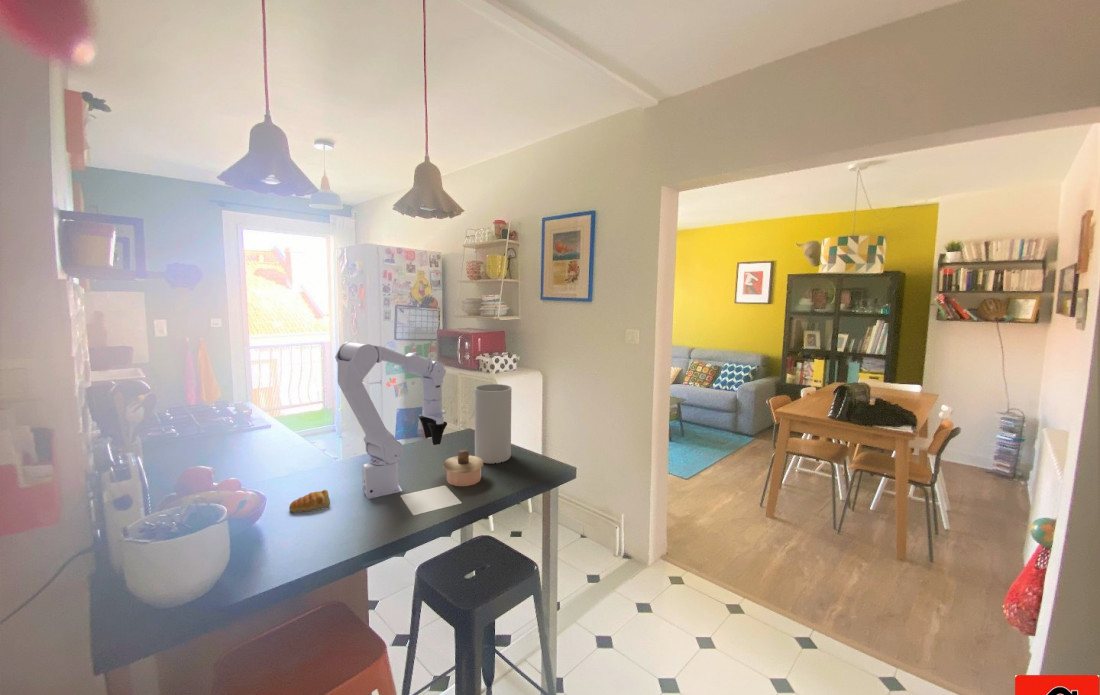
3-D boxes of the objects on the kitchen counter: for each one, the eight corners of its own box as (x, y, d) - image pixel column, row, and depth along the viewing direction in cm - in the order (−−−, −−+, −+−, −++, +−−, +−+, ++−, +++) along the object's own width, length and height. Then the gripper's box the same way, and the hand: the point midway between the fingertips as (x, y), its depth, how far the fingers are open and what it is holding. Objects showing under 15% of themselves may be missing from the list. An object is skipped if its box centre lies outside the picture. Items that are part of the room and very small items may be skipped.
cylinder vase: (517, 459, 152) (518, 388, 149) (486, 467, 144) (486, 393, 141) (498, 449, 162) (499, 382, 159) (468, 456, 154) (468, 386, 151)
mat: (413, 517, 111) (413, 515, 110) (400, 497, 121) (400, 495, 121) (461, 505, 118) (462, 502, 118) (445, 487, 128) (445, 485, 128)
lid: (453, 476, 124) (453, 461, 124) (436, 462, 134) (436, 449, 133) (490, 467, 131) (490, 453, 131) (472, 455, 141) (472, 442, 141)
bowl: (454, 490, 126) (454, 474, 126) (442, 478, 135) (442, 462, 134) (486, 483, 132) (486, 467, 131) (472, 471, 140) (472, 456, 140)
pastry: (291, 517, 110) (290, 503, 109) (287, 507, 115) (287, 493, 115) (332, 507, 115) (331, 493, 115) (327, 498, 121) (326, 485, 120)
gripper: (453, 402, 133) (453, 445, 134) (437, 392, 145) (437, 432, 146) (430, 404, 129) (430, 449, 130) (415, 395, 141) (416, 435, 142)
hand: (432, 440), depth 138 cm, fingers open, 7 cm apart
